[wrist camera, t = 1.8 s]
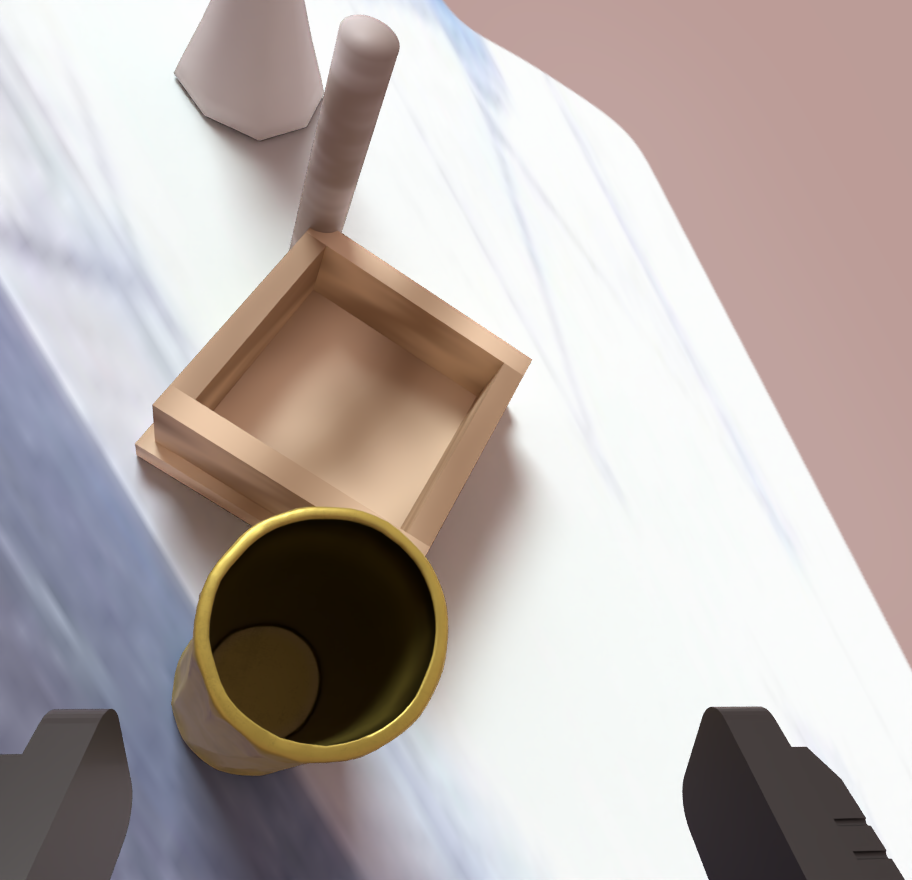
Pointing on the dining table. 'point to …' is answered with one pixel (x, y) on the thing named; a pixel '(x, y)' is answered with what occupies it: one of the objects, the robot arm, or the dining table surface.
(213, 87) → the flask
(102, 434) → the dining table surface
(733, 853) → the robot arm
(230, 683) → the vase
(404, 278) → the stand
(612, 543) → the dining table surface
